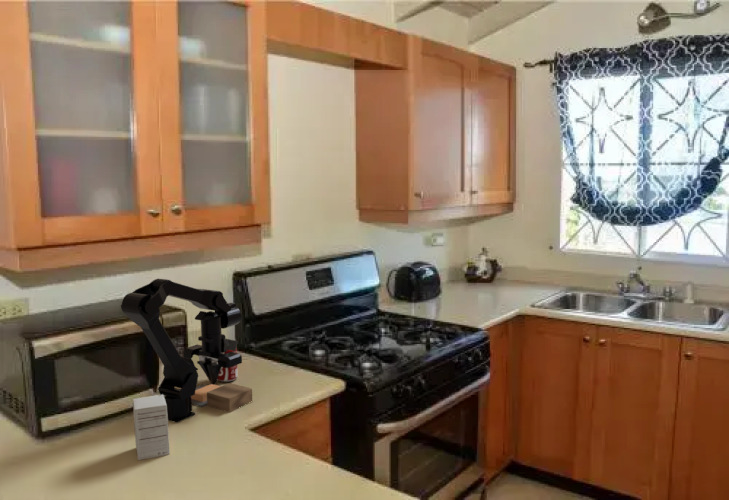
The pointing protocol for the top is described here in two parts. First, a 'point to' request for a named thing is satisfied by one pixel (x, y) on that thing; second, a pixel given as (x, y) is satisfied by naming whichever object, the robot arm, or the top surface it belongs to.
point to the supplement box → (151, 426)
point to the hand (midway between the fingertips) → (213, 384)
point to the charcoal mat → (196, 402)
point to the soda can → (228, 371)
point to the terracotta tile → (203, 392)
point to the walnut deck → (229, 397)
